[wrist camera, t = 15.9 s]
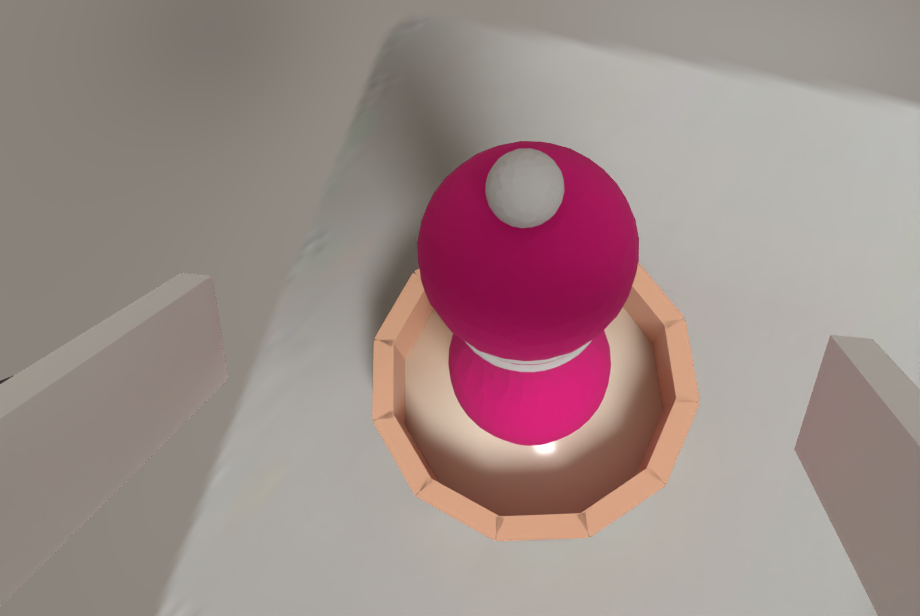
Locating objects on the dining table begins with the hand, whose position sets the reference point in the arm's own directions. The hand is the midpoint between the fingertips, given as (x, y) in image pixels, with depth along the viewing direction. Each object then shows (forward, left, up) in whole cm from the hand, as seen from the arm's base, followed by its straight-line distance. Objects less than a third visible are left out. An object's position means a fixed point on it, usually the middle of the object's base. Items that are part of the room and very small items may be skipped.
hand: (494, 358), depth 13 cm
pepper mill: (+3, -3, -19) cm, 19 cm away
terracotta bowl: (+3, -3, -19) cm, 20 cm away
